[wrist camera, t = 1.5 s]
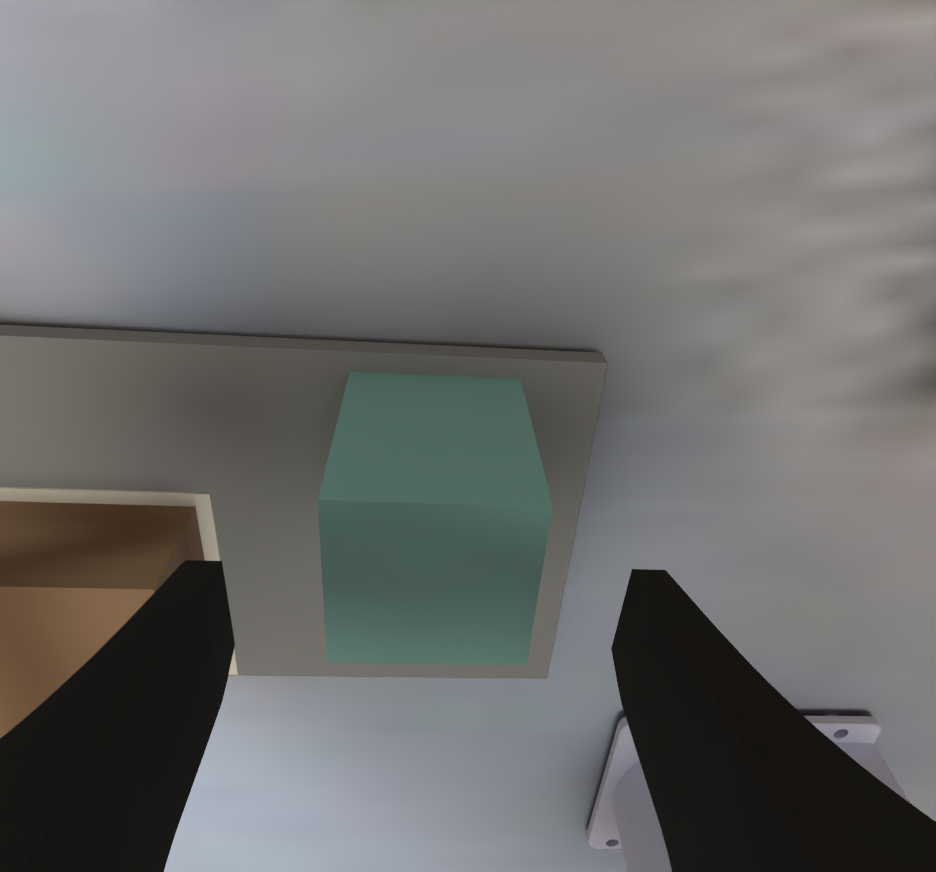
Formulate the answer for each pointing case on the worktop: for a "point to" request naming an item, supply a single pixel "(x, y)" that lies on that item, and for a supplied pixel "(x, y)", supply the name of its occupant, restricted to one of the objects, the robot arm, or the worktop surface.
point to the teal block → (432, 522)
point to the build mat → (262, 458)
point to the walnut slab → (76, 586)
